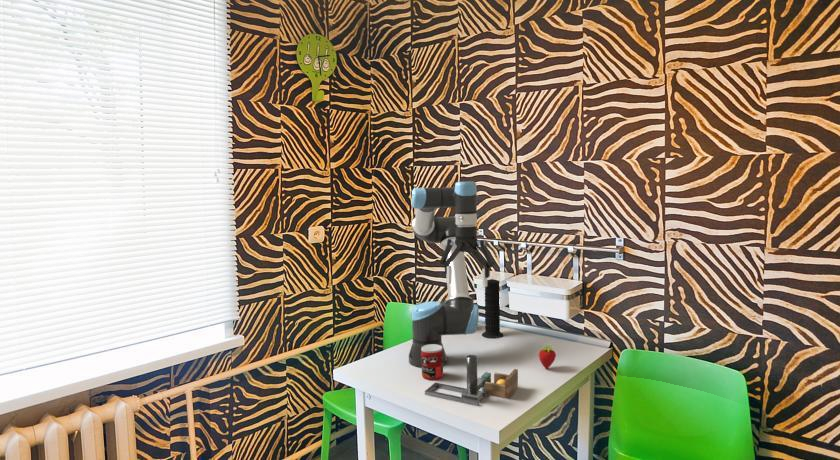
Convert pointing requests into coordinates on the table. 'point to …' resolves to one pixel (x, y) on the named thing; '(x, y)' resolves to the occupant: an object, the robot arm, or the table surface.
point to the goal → (500, 389)
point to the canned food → (432, 361)
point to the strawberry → (547, 356)
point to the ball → (501, 382)
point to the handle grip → (492, 310)
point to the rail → (431, 392)
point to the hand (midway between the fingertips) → (466, 285)
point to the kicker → (474, 380)
